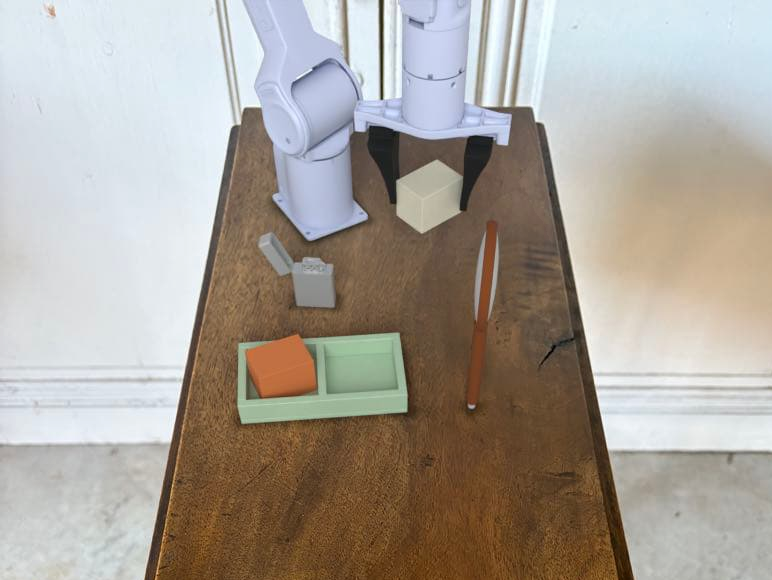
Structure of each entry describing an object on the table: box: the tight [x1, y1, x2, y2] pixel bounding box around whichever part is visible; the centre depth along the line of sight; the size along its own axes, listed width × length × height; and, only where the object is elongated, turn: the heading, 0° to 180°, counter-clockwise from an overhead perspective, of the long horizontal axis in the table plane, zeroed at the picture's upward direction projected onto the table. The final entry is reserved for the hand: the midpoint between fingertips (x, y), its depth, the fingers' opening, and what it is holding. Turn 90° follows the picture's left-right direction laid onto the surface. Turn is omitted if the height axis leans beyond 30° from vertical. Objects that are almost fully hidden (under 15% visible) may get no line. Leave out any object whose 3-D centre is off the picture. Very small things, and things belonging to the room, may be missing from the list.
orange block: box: [245, 333, 317, 399], centre depth 77 cm, size 6×4×4 cm
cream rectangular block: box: [395, 159, 463, 234], centre depth 81 cm, size 6×4×4 cm
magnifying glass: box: [465, 219, 500, 410], centre depth 69 cm, size 9×2×20 cm, turn 173°
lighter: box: [258, 231, 337, 309], centre depth 82 cm, size 7×2×8 cm, turn 87°
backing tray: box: [236, 332, 409, 425], centre depth 78 cm, size 8×16×2 cm, turn 96°
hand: (429, 201), depth 81 cm, fingers closed on cream rectangular block, 6 cm apart
